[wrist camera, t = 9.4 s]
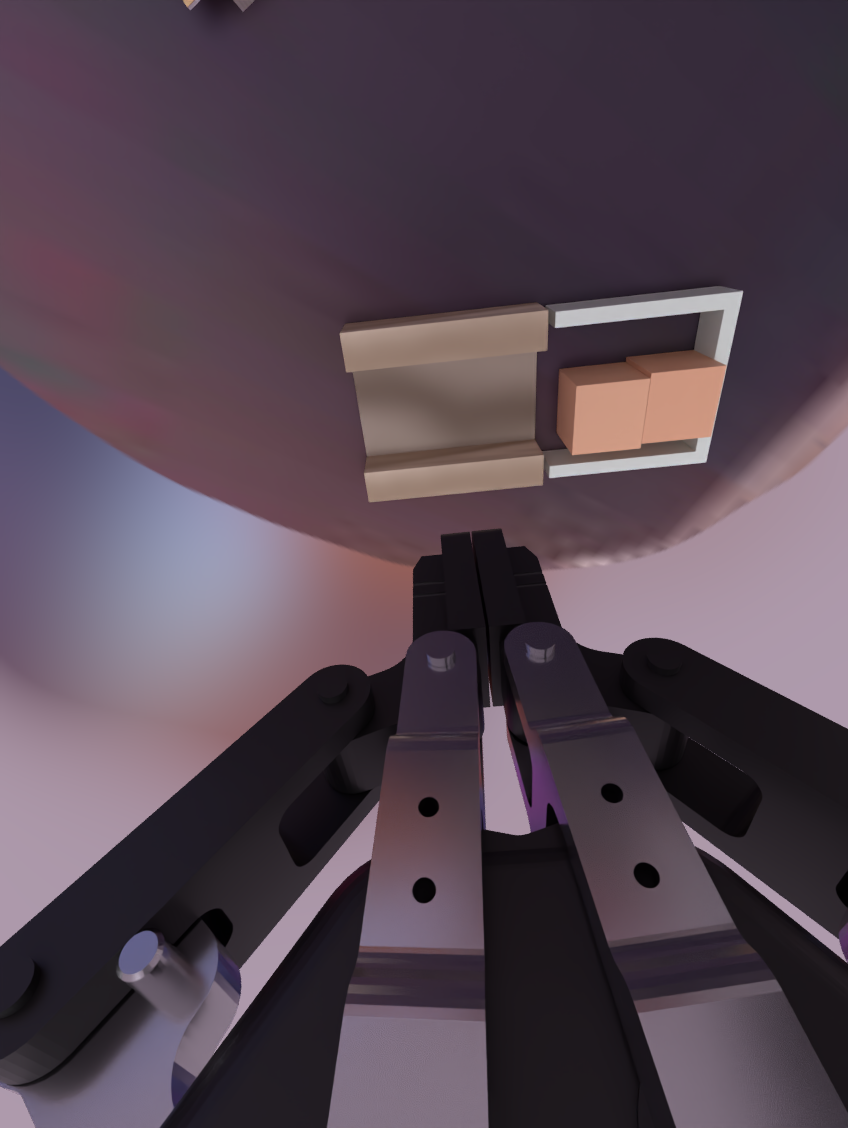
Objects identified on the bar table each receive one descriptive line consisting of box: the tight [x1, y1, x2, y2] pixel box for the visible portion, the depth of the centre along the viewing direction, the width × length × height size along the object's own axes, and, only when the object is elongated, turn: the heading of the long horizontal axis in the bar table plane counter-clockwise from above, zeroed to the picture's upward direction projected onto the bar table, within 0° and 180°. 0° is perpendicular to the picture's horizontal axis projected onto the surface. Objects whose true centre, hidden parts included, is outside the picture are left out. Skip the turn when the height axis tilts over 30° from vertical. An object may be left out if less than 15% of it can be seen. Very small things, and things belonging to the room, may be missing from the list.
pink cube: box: [556, 362, 651, 455], centre depth 31 cm, size 4×4×4 cm
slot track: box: [340, 302, 549, 502], centre depth 31 cm, size 10×11×3 cm
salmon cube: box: [626, 350, 727, 444], centre depth 31 cm, size 4×4×4 cm
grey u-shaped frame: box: [542, 286, 743, 478], centre depth 31 cm, size 10×10×2 cm
